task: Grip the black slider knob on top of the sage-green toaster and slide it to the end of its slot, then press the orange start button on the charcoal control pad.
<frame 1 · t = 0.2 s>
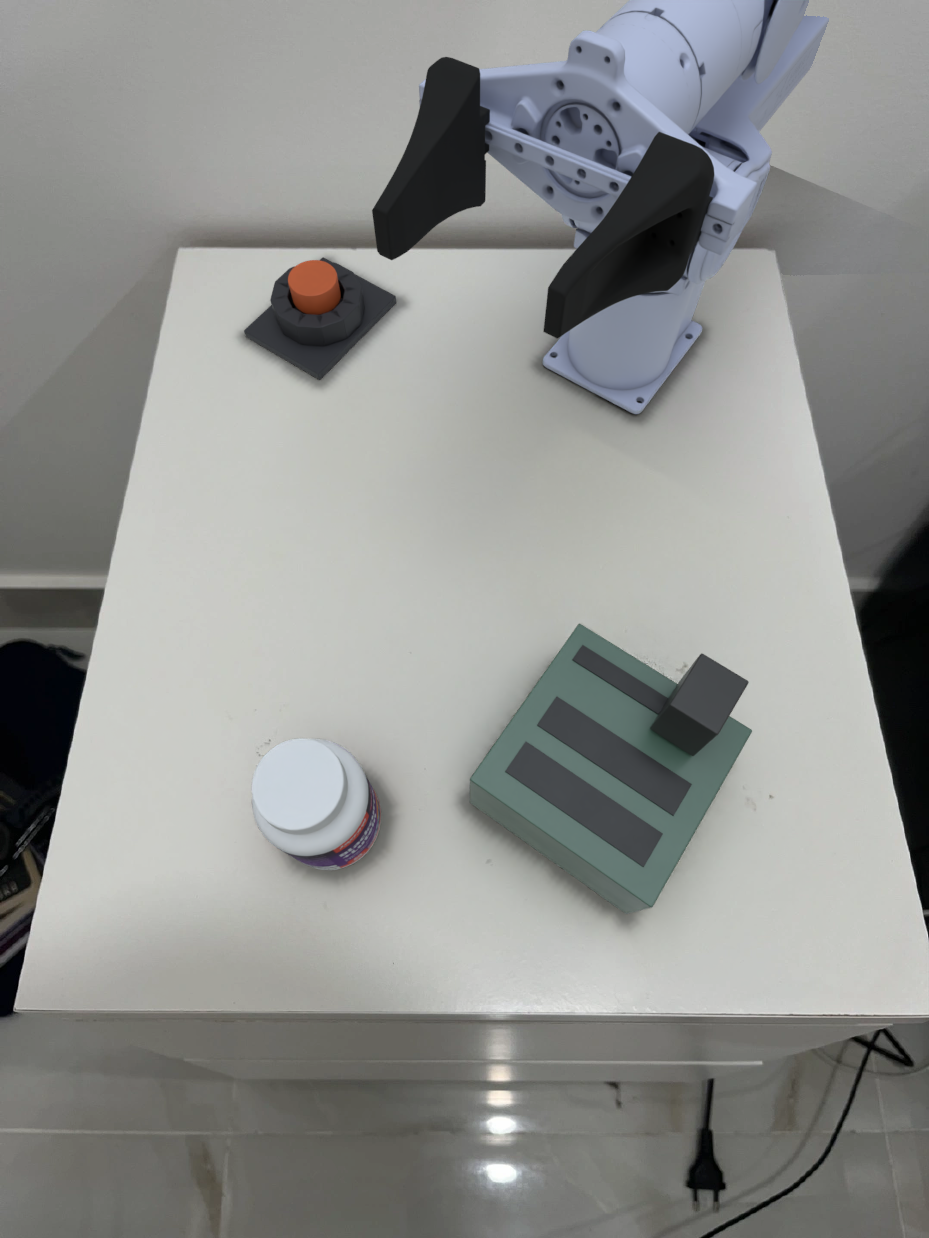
hand: (464, 273, 28), 22 cm above the table, tool horizontal, fingers open, 7 cm apart
toaster slider: (697, 706, 35), point 8 cm above the table, slide at 0.0 cm
start button: (314, 287, 53), point 3 cm above the table, slide at 0.1 cm
pill bottle: (334, 819, 42), on the table
toaster: (594, 780, 42), on the table
control pad: (322, 320, 56), on the table
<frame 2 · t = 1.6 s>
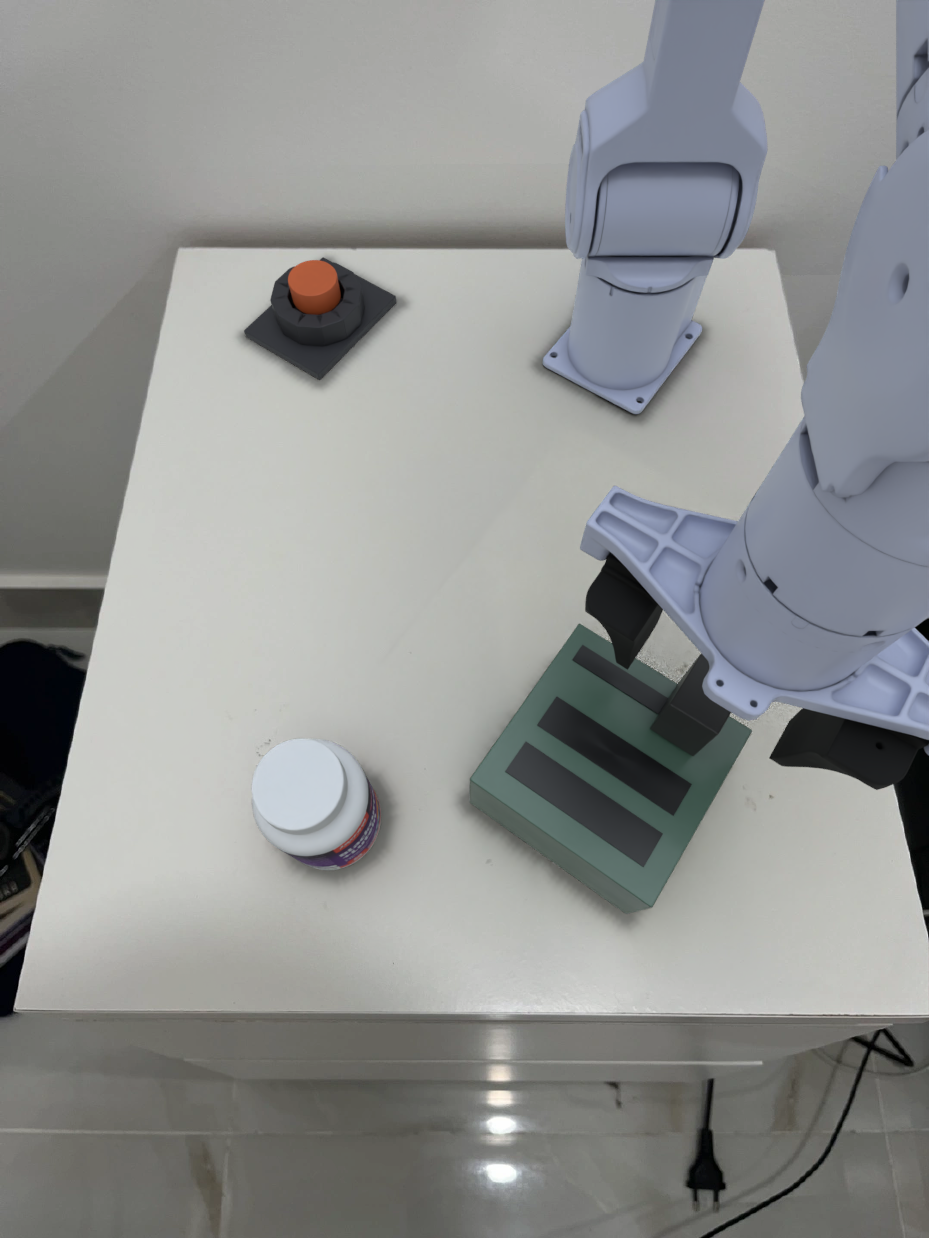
hand: (707, 695, 34), 10 cm above the table, tool pointing down, fingers open, 7 cm apart
nothing on the table moved.
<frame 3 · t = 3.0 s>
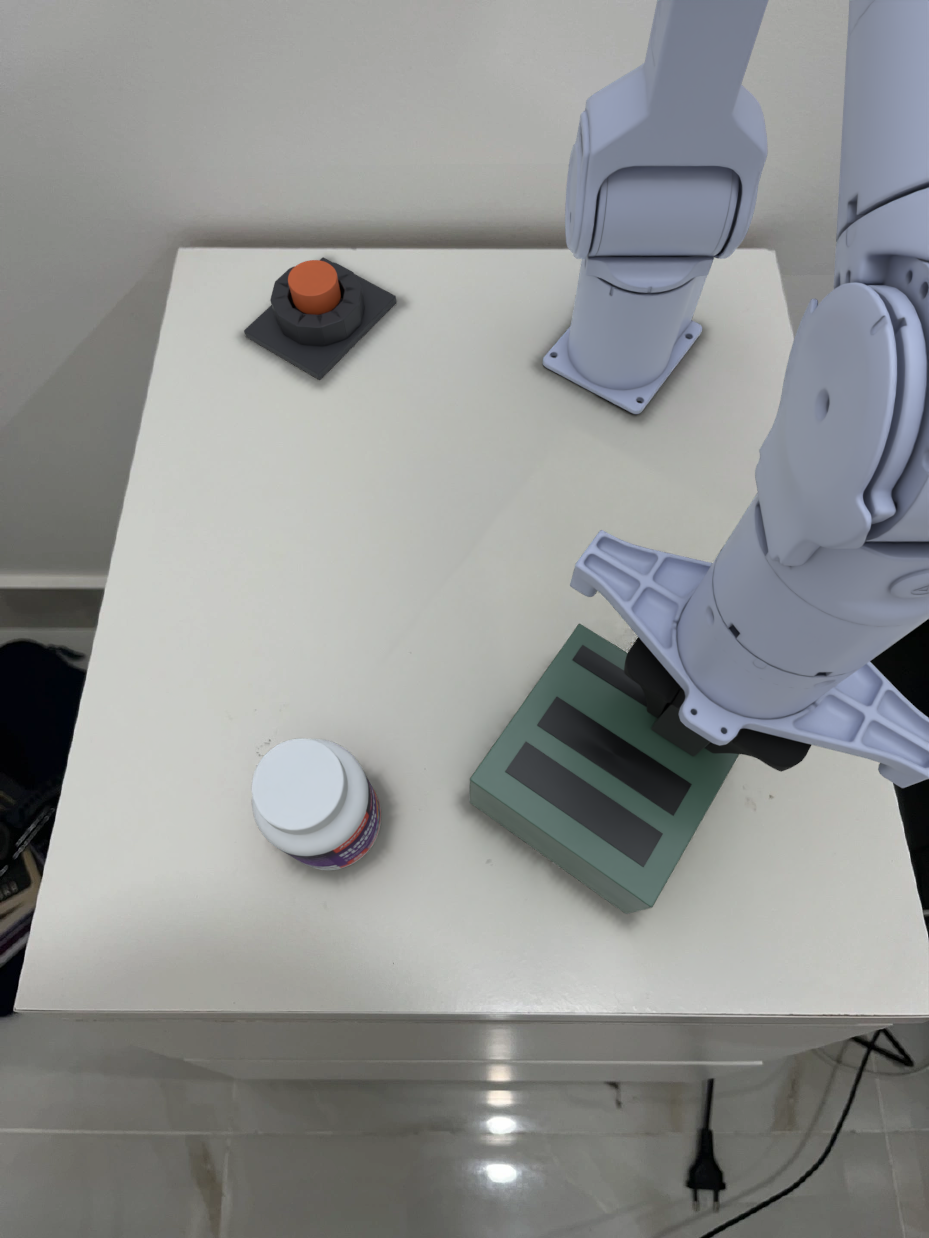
hand: (688, 715, 37), 7 cm above the table, tool pointing down, fingers closed on toaster slider, 2 cm apart
toaster slider: (697, 706, 35), point 8 cm above the table, slide at 0.0 cm, touching gripper
everything else where it was.
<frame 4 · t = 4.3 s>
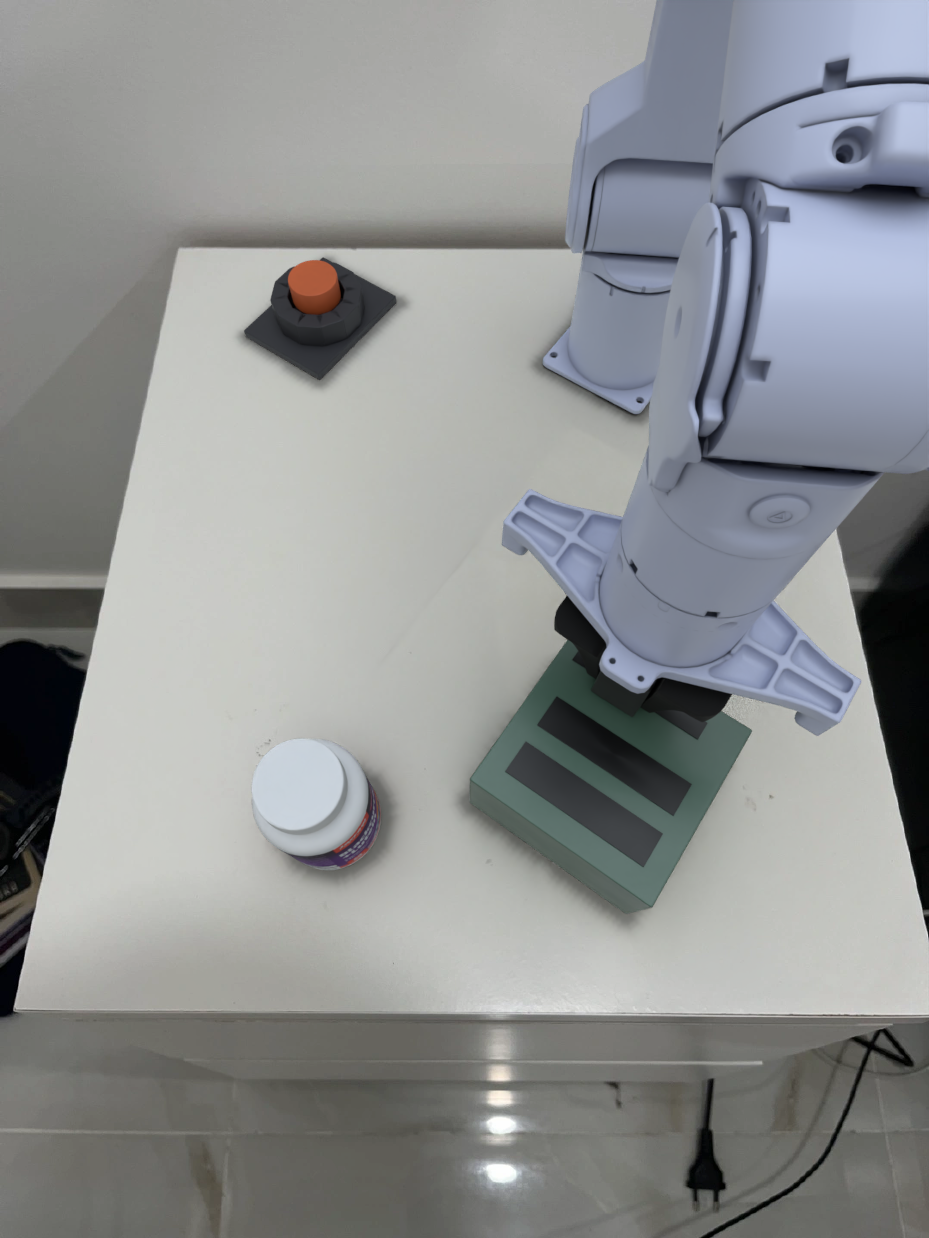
hand: (627, 677, 37), 7 cm above the table, tool pointing down, fingers closed on toaster slider, 2 cm apart
toaster slider: (634, 667, 36), point 8 cm above the table, slide at 3.4 cm, touching gripper
everything else where it was.
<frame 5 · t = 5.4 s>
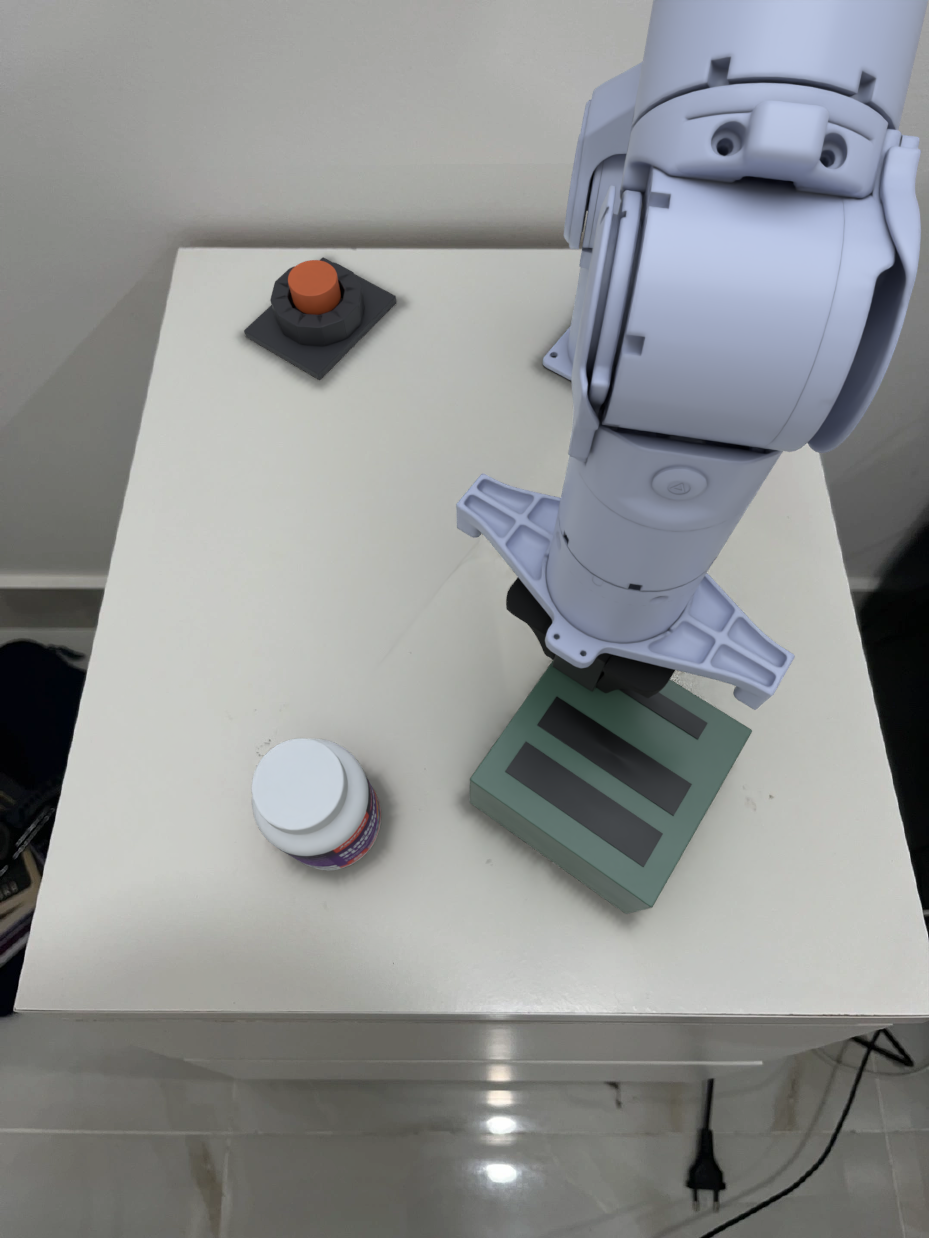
hand: (585, 658, 39), 6 cm above the table, tool pointing down, fingers closed on toaster slider, 2 cm apart
toaster slider: (593, 641, 37), point 8 cm above the table, slide at 5.6 cm, touching gripper
everything else where it was.
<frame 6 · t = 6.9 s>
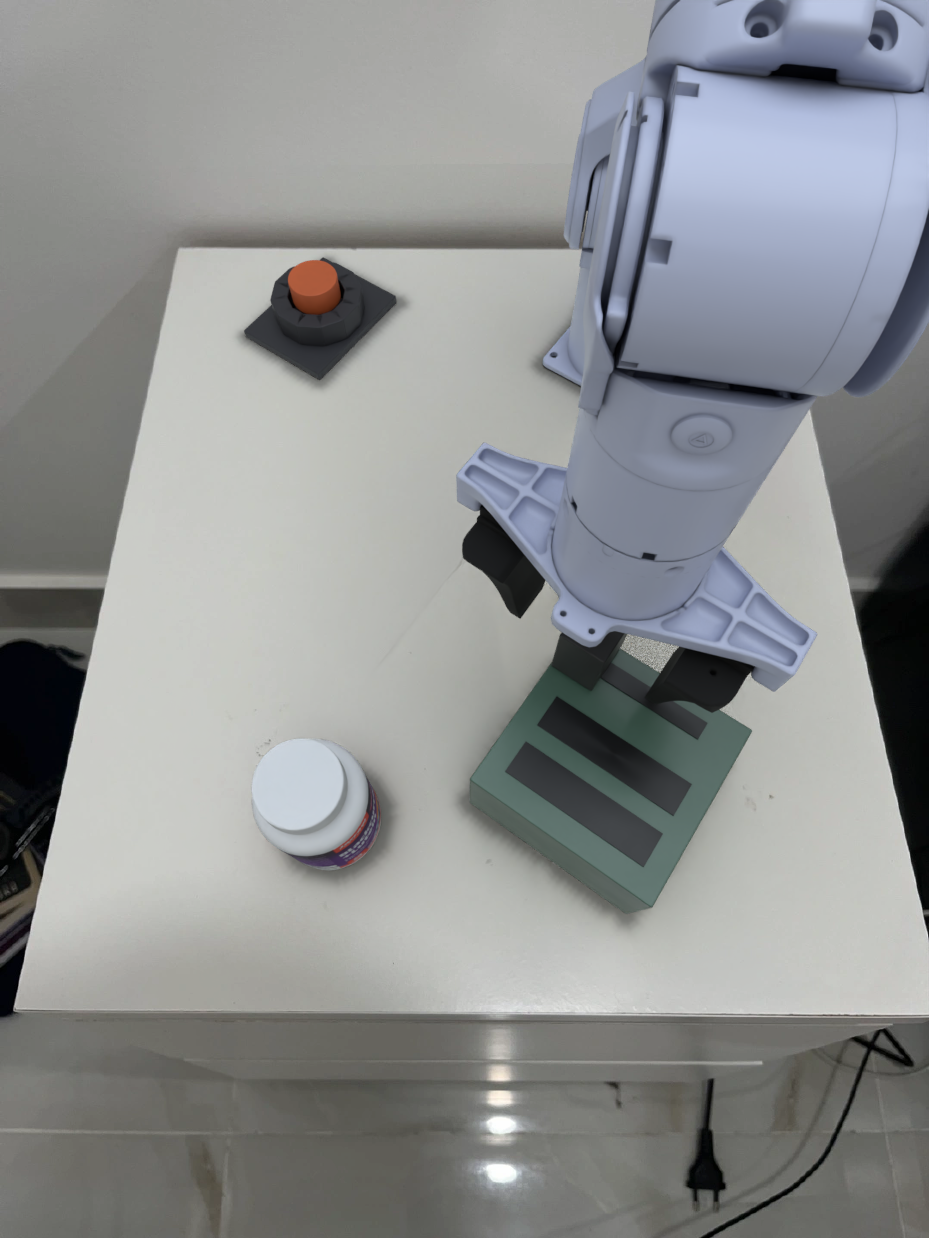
hand: (591, 641, 37), 8 cm above the table, tool pointing down, fingers open, 7 cm apart
toaster slider: (592, 640, 37), point 8 cm above the table, slide at 5.7 cm
everything else where it was.
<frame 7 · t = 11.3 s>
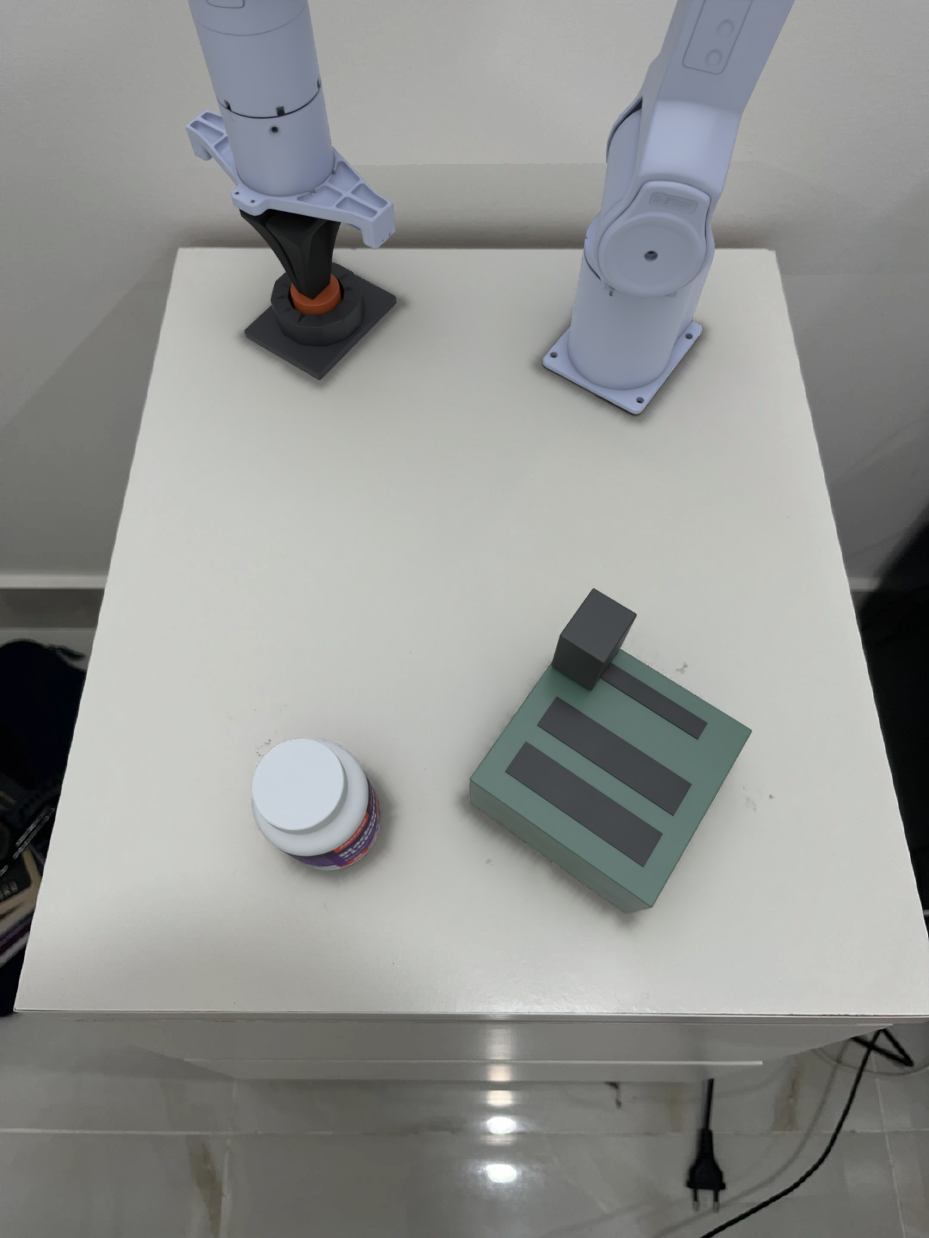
hand: (314, 287, 53), 3 cm above the table, tool pointing down, fingers closed, pressing on start button
start button: (316, 297, 54), point 2 cm above the table, slide at -0.7 cm, touching gripper
everything else where it was.
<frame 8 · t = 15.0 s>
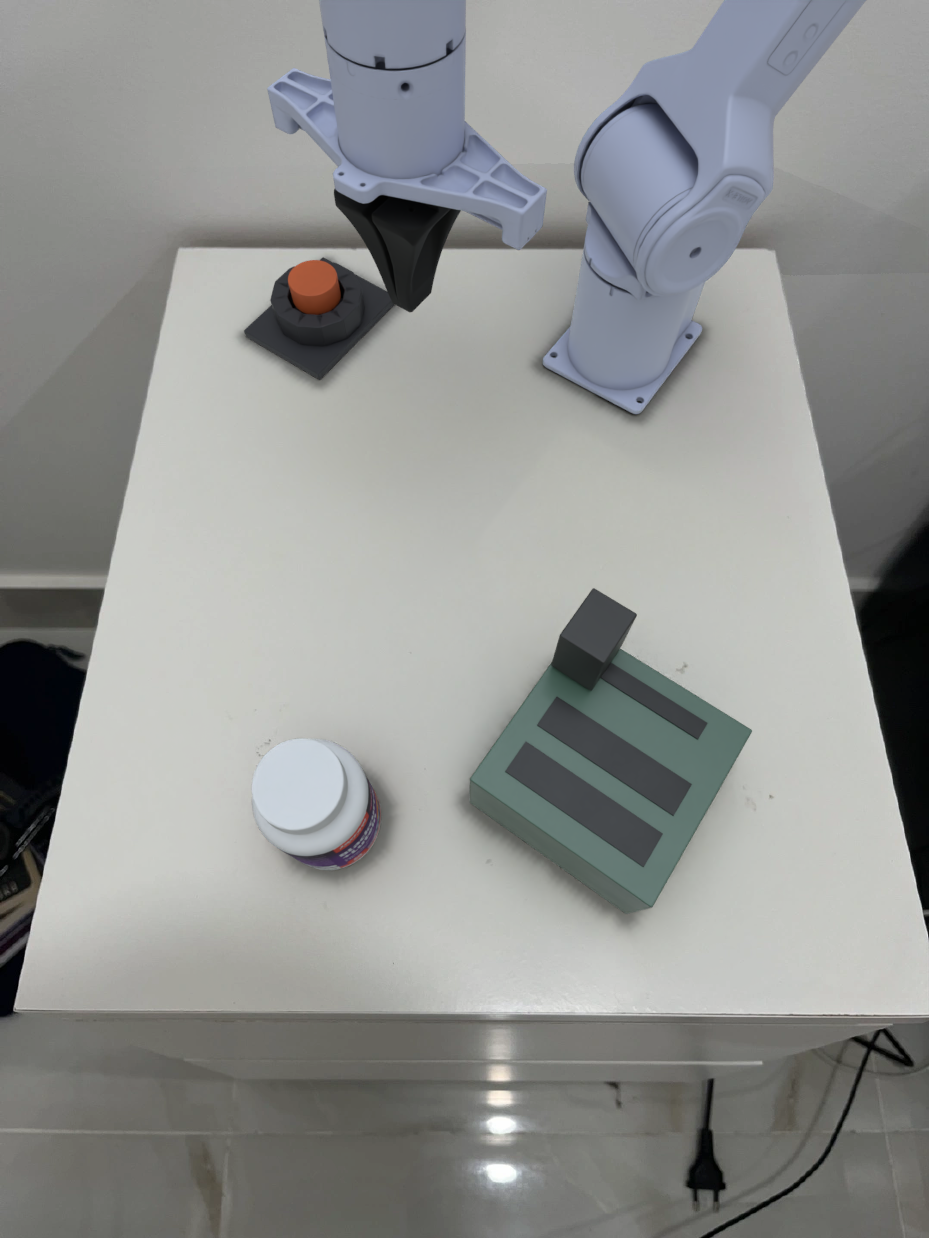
hand: (411, 297, 43), 10 cm above the table, tool pointing down, fingers closed
start button: (314, 287, 53), point 3 cm above the table, slide at 0.1 cm
everything else where it was.
at the end: toaster slider slide at 5.7 cm; start button pushed in 1.2 cm at the most during the clip, back to where it started at the end; start button slide at 0.1 cm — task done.
